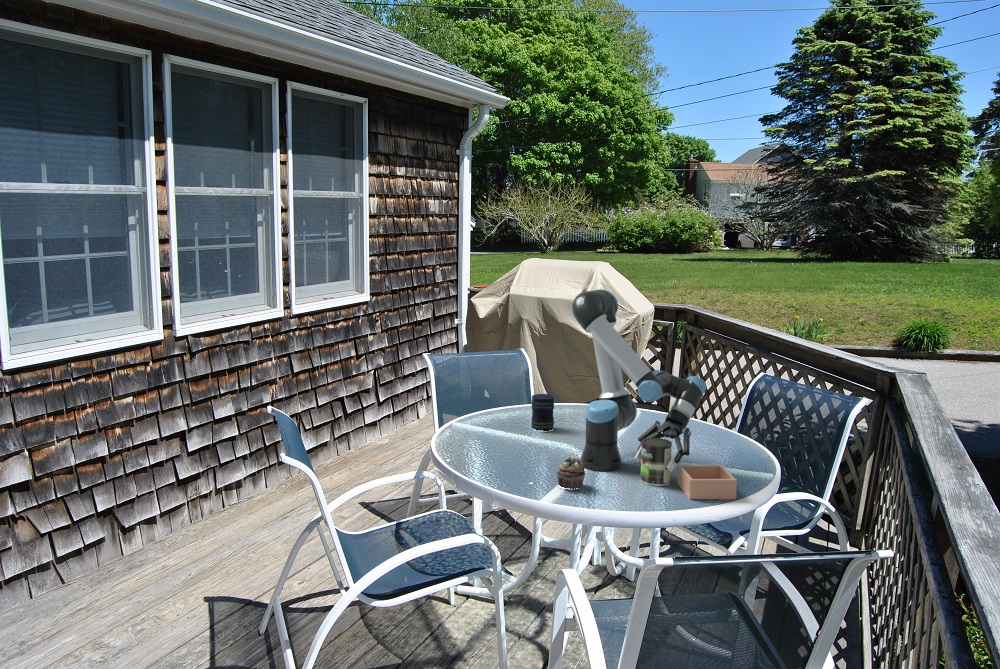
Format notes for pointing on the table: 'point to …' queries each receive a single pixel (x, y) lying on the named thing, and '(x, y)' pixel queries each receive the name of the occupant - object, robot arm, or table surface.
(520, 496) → the table surface
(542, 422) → the storage jar
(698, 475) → the planter box
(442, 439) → the table surface
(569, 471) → the cupcake
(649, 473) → the coffee can
